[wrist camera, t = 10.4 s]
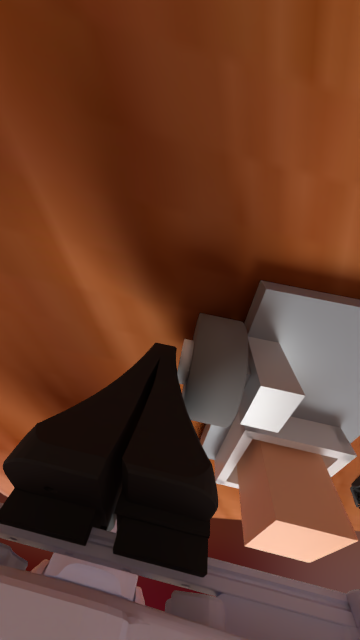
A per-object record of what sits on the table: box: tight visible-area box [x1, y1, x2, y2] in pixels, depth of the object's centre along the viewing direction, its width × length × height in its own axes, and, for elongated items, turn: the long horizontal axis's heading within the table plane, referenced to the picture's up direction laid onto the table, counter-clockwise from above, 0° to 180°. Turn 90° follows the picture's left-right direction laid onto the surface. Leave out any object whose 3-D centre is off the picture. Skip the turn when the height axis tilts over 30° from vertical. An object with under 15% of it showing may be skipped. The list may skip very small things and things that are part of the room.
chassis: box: [200, 280, 360, 489], centre depth 14 cm, size 18×11×6 cm, turn 171°
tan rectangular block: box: [237, 439, 359, 563], centre depth 15 cm, size 6×4×6 cm
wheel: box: [177, 313, 251, 428], centre depth 12 cm, size 6×6×6 cm
